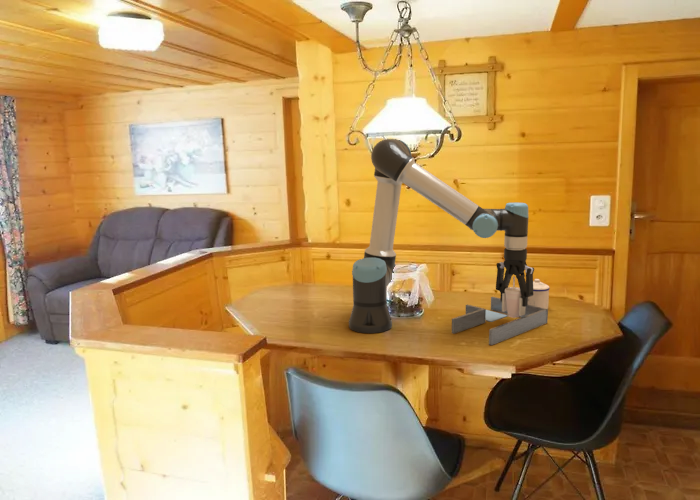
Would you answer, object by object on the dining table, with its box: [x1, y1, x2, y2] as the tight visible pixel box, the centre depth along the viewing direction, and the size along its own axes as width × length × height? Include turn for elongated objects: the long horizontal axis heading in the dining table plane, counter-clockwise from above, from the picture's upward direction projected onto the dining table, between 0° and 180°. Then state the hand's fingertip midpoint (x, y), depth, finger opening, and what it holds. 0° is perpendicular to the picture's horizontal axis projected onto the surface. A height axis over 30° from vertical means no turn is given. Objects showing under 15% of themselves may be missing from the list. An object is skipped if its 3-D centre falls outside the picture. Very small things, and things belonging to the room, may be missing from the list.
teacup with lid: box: [528, 278, 551, 310], centre depth 207 cm, size 12×9×12 cm
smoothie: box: [505, 276, 521, 319], centre depth 191 cm, size 6×6×14 cm
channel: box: [451, 296, 549, 346], centre depth 190 cm, size 32×23×5 cm
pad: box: [485, 309, 508, 323], centre depth 201 cm, size 10×10×1 cm
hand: (513, 312), depth 192 cm, fingers closed on smoothie, 6 cm apart
